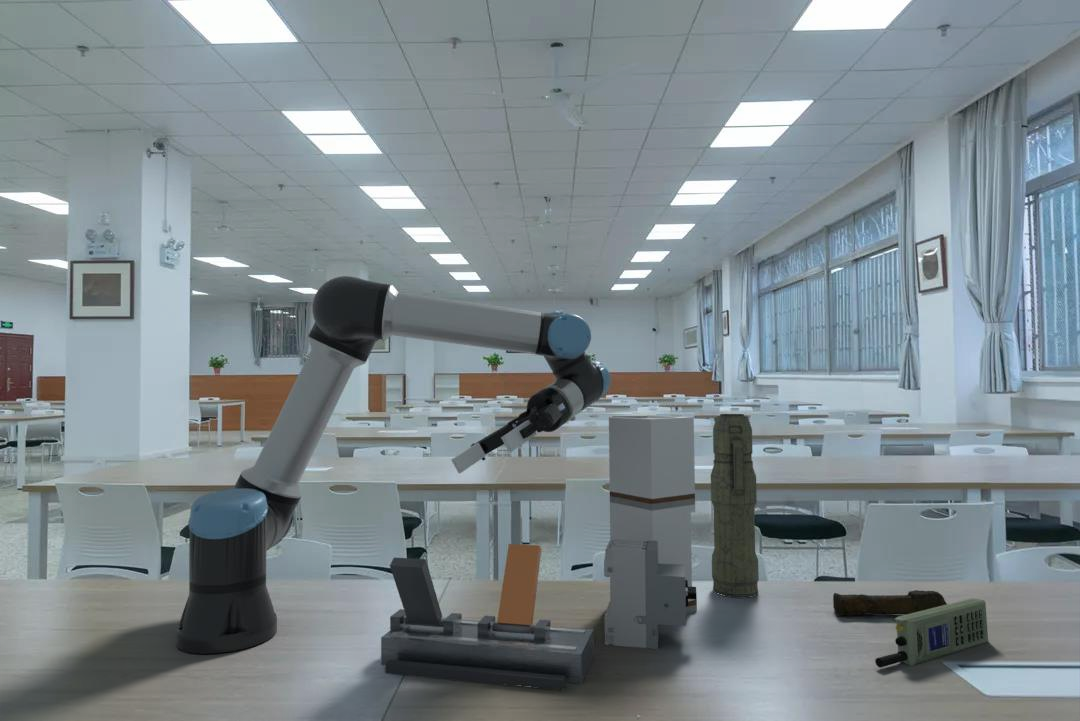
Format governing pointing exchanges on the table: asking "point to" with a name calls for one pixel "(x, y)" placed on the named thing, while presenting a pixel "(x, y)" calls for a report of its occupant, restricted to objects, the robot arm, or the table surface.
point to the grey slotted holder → (490, 646)
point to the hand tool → (887, 603)
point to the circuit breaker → (642, 593)
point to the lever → (519, 589)
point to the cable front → (475, 674)
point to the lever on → (416, 592)
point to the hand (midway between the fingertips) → (480, 455)
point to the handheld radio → (938, 632)
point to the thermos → (734, 508)
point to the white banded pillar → (654, 485)
